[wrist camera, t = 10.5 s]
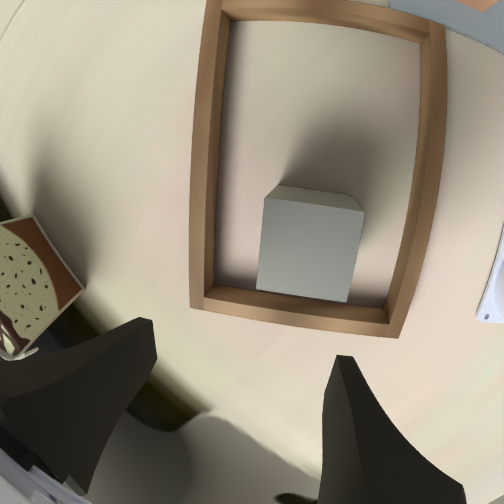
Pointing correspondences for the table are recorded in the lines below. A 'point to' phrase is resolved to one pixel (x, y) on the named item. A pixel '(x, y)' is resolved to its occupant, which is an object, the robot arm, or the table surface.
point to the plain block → (309, 242)
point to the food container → (30, 285)
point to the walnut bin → (207, 156)
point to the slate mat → (460, 18)
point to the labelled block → (478, 4)
